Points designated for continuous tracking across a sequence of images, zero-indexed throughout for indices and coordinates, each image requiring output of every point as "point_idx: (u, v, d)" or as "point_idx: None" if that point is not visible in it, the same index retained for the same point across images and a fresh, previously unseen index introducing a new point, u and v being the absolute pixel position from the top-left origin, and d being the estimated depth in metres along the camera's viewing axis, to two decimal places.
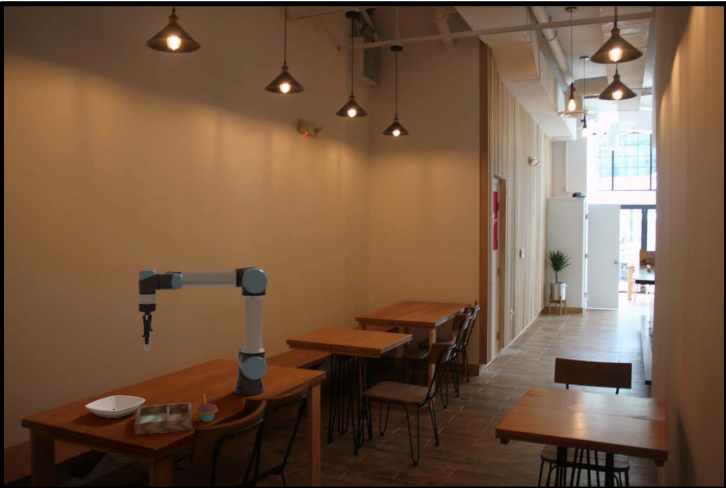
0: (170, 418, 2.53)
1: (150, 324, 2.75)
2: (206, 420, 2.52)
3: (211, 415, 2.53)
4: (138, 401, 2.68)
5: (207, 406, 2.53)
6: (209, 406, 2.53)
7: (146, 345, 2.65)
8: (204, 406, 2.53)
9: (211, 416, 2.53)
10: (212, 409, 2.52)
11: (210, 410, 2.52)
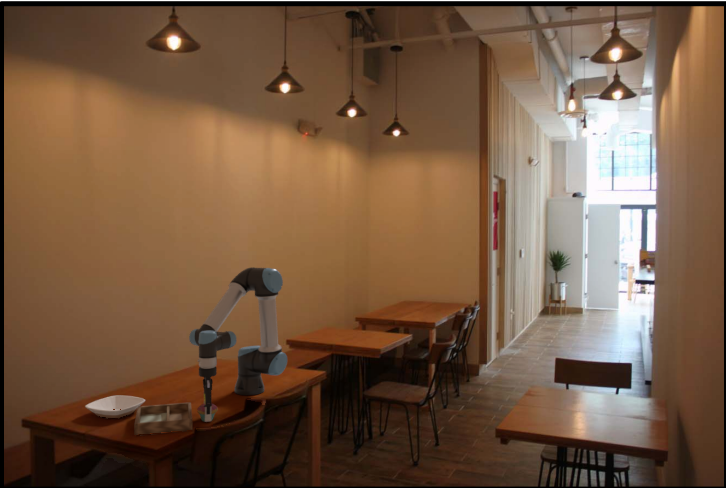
0: (170, 418, 2.53)
1: None
2: None
3: (211, 415, 2.53)
4: (138, 401, 2.68)
5: None
6: None
7: (207, 415, 2.50)
8: None
9: (211, 416, 2.53)
10: (212, 409, 2.52)
11: None
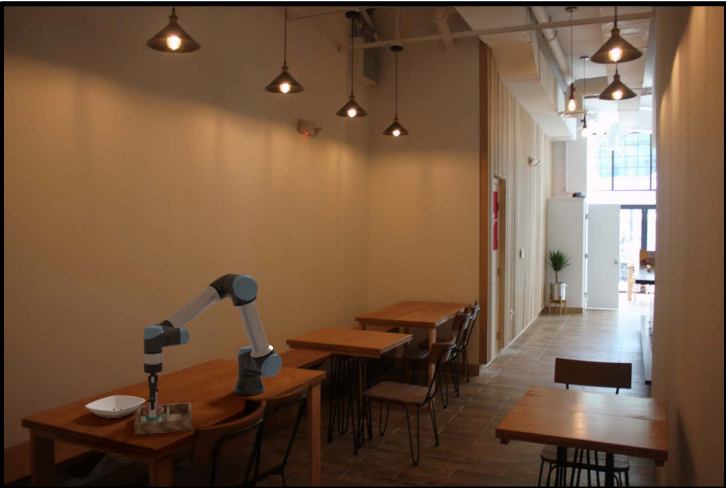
0: (170, 418, 2.53)
1: None
2: (151, 421, 2.46)
3: (156, 416, 2.46)
4: (138, 401, 2.68)
5: None
6: None
7: (152, 410, 2.41)
8: None
9: (156, 417, 2.46)
10: (157, 410, 2.45)
11: None
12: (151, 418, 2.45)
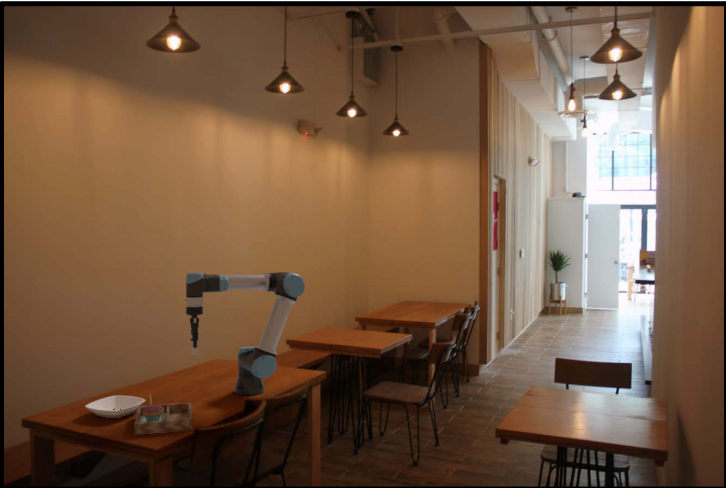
0: (170, 418, 2.53)
1: None
2: None
3: (156, 416, 2.46)
4: (138, 401, 2.68)
5: (152, 407, 2.46)
6: (154, 407, 2.46)
7: (194, 348, 2.63)
8: (149, 407, 2.46)
9: (156, 417, 2.46)
10: (157, 410, 2.45)
11: (155, 411, 2.45)
12: (151, 418, 2.45)
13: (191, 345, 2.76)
